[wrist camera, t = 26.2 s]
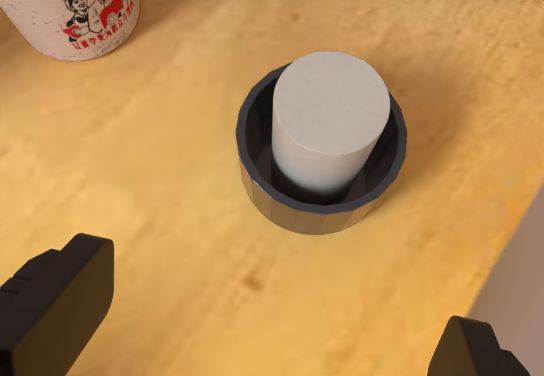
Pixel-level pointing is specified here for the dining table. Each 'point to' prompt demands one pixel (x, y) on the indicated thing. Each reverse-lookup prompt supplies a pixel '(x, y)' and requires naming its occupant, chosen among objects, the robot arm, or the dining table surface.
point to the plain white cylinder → (325, 124)
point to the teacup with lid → (73, 25)
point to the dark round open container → (297, 214)
